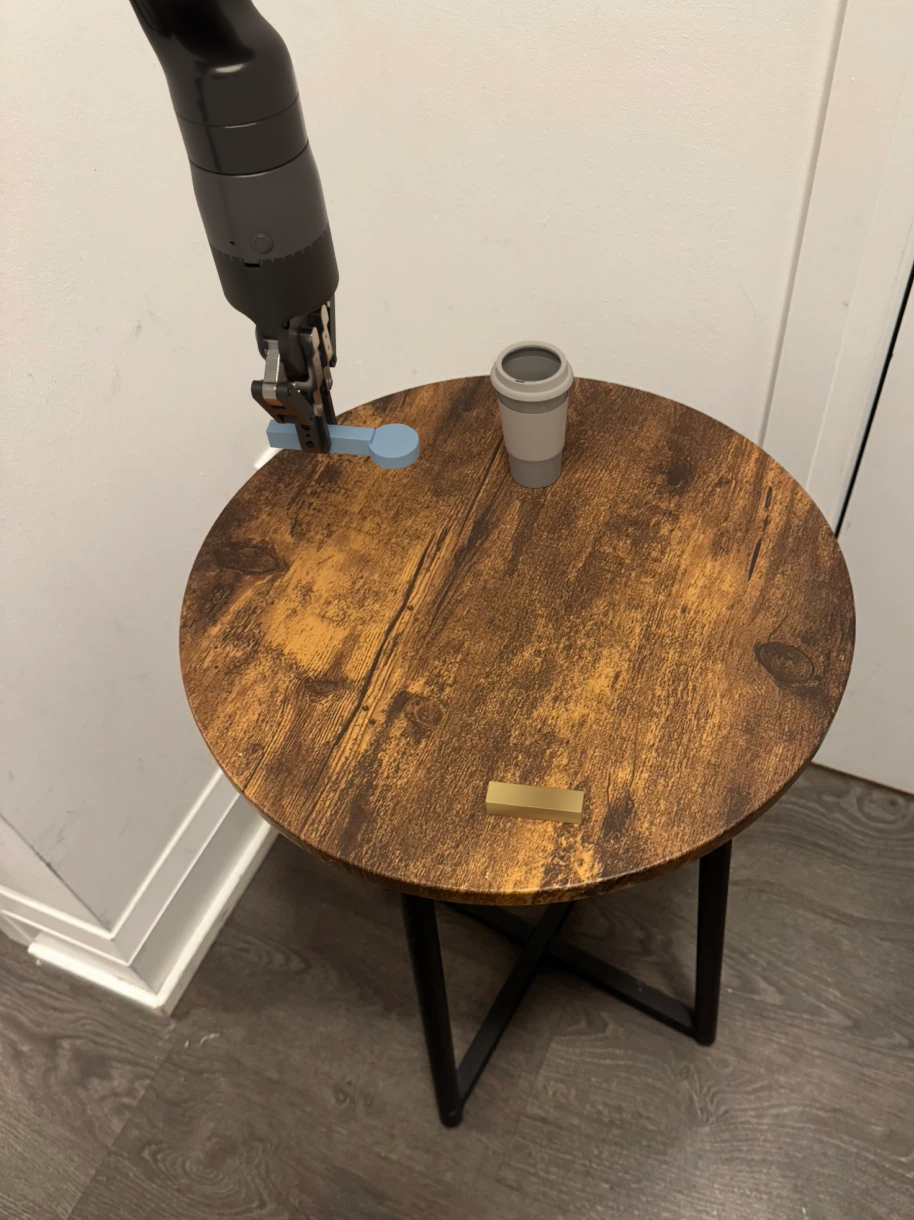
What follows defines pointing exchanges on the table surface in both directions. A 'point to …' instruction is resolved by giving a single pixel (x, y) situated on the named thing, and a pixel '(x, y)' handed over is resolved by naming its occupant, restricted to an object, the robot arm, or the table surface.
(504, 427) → the cup
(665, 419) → the table surface
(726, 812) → the table surface
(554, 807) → the fry stick
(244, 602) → the table surface
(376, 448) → the spoon
